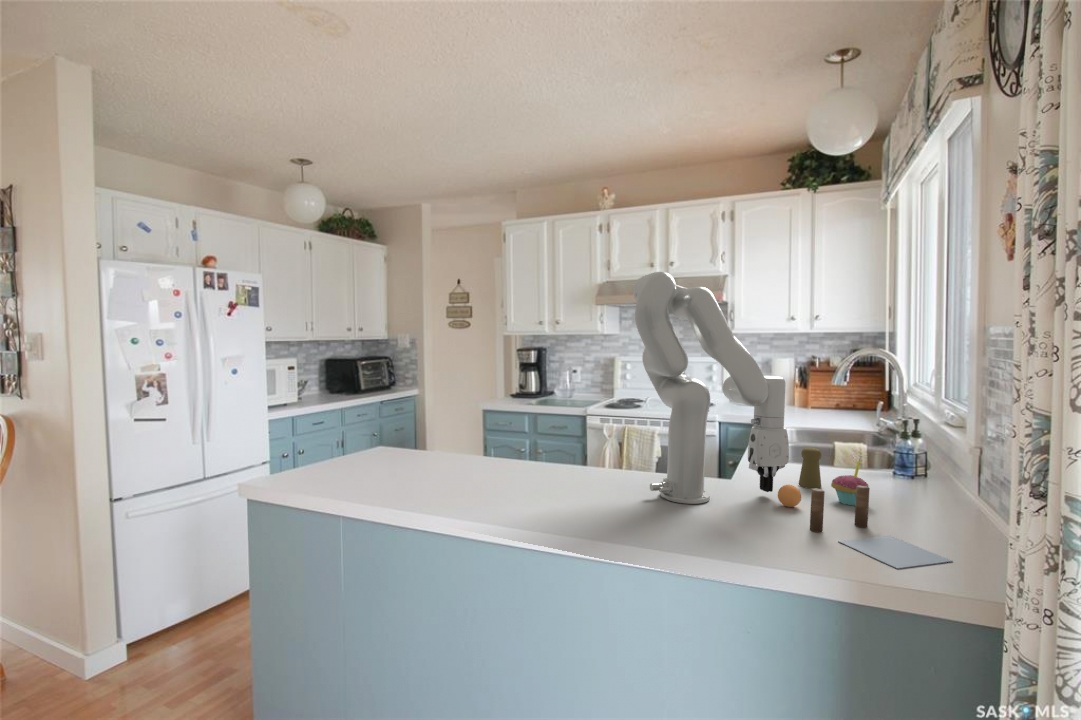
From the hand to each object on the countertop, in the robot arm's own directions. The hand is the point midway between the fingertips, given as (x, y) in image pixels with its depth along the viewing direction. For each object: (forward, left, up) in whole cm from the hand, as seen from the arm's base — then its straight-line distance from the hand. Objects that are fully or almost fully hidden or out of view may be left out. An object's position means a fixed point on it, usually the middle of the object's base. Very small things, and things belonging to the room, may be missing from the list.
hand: (766, 490), depth 153 cm
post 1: (-6, -25, -2) cm, 26 cm away
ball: (0, -9, +1) cm, 9 cm away
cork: (+20, +6, -2) cm, 21 cm away
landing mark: (0, -39, -2) cm, 39 cm away
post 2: (+6, -25, -2) cm, 26 cm away
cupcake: (+18, -10, -2) cm, 21 cm away
